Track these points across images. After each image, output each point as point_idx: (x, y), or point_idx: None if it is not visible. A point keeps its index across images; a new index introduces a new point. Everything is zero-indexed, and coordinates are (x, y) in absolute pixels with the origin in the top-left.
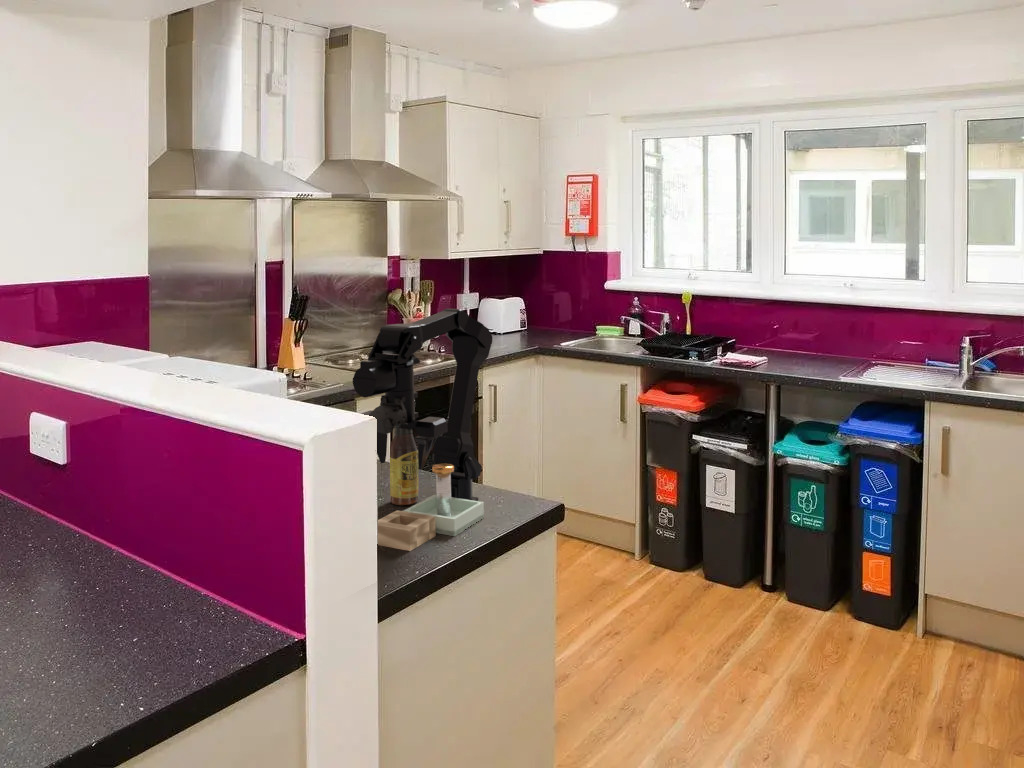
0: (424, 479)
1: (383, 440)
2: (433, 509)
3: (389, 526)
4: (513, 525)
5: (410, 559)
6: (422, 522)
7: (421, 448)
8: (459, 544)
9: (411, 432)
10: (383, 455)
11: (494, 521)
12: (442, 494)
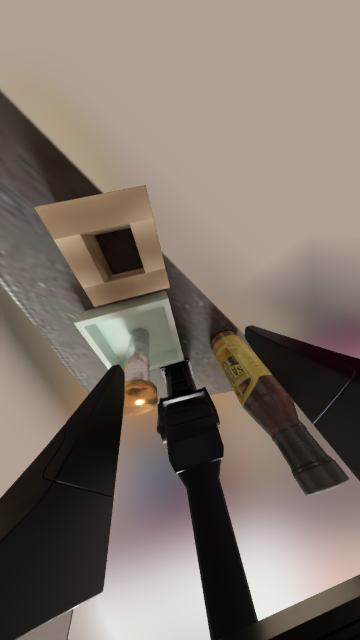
0: None
1: (310, 397)
2: (173, 343)
3: (97, 200)
4: (76, 371)
5: (10, 172)
6: (77, 270)
7: (42, 462)
8: (46, 293)
9: (273, 440)
10: (260, 346)
11: (103, 365)
12: (129, 354)
